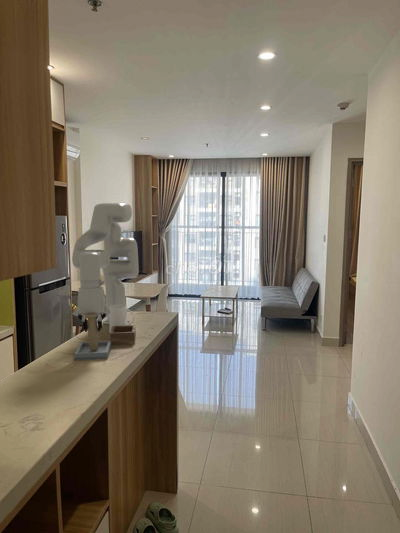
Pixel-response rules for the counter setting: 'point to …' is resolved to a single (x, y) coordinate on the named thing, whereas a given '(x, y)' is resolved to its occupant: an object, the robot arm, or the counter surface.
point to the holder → (123, 335)
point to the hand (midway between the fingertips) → (92, 330)
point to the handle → (92, 331)
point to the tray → (86, 354)
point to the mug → (119, 316)
